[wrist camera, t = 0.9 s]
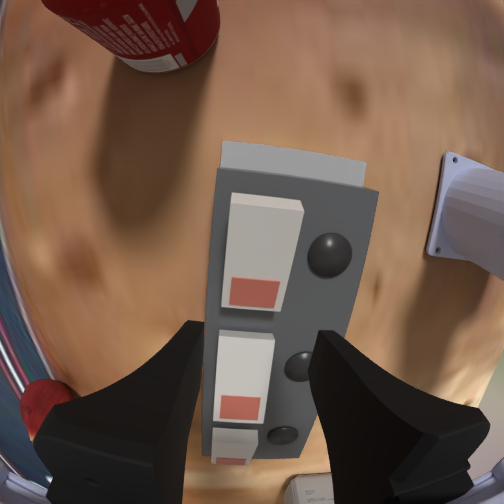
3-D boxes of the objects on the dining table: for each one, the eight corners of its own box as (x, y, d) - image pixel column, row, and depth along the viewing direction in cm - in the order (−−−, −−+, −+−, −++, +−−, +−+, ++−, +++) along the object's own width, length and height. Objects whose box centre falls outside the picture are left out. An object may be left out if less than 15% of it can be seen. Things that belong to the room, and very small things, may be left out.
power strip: (362, 162, 18) (388, 164, 15) (291, 443, 26) (296, 471, 23) (223, 140, 17) (219, 137, 14) (203, 440, 26) (201, 469, 22)
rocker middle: (272, 333, 18) (275, 340, 17) (261, 413, 18) (263, 424, 17) (219, 329, 18) (218, 336, 16) (213, 411, 18) (213, 421, 17)
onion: (43, 392, 24) (13, 442, 16) (37, 354, 22) (-4, 406, 14) (89, 412, 24) (64, 469, 17) (87, 376, 23) (54, 438, 15)
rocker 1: (257, 429, 19) (258, 445, 18) (248, 453, 22) (248, 466, 21) (212, 427, 19) (211, 442, 18) (211, 451, 22) (211, 464, 21)
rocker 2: (300, 200, 14) (304, 212, 13) (278, 297, 17) (280, 312, 16) (231, 192, 14) (230, 203, 13) (222, 292, 17) (221, 307, 16)
